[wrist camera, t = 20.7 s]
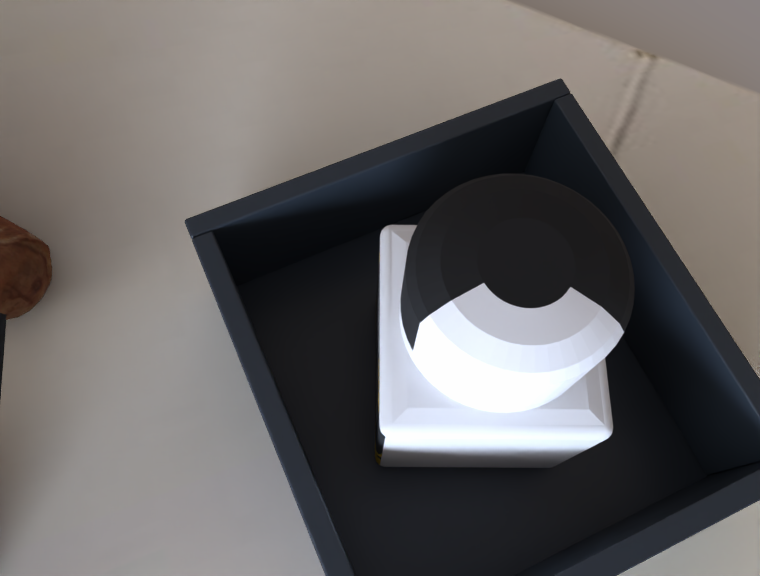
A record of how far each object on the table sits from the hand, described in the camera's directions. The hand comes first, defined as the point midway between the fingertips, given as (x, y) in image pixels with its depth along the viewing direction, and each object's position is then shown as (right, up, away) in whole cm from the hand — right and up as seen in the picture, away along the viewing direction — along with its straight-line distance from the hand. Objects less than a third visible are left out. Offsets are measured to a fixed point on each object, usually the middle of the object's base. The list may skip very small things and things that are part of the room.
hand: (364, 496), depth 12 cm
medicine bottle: (+4, 0, +18) cm, 18 cm away
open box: (+4, -1, +18) cm, 19 cm away
